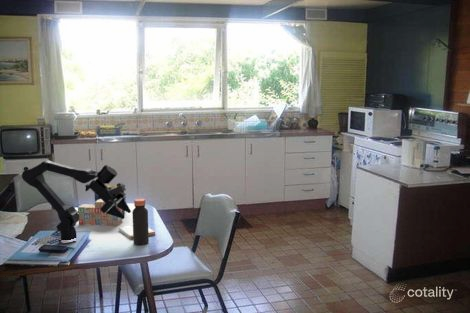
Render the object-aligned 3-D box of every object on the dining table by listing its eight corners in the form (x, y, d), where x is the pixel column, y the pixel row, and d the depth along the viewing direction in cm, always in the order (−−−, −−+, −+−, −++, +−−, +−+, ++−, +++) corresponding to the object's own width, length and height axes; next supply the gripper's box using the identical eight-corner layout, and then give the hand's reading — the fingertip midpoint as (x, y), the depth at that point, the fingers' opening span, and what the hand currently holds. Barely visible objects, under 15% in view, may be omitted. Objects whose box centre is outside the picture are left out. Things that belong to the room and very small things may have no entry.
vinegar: (134, 246, 204) (132, 202, 201) (133, 241, 210) (131, 198, 207) (149, 244, 206) (148, 201, 203) (148, 239, 212) (146, 197, 209)
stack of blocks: (78, 224, 236) (77, 201, 234) (83, 221, 242) (82, 198, 240) (118, 226, 234) (117, 202, 232) (123, 222, 240) (122, 199, 238)
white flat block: (131, 239, 213) (131, 236, 212) (119, 230, 226) (119, 227, 226) (155, 234, 219) (155, 231, 219) (142, 226, 232) (142, 223, 232)
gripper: (106, 182, 195) (133, 208, 196) (120, 174, 214) (144, 197, 214) (89, 200, 197) (115, 225, 198) (104, 190, 215) (128, 214, 216)
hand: (127, 215), depth 206 cm, fingers open, 9 cm apart
